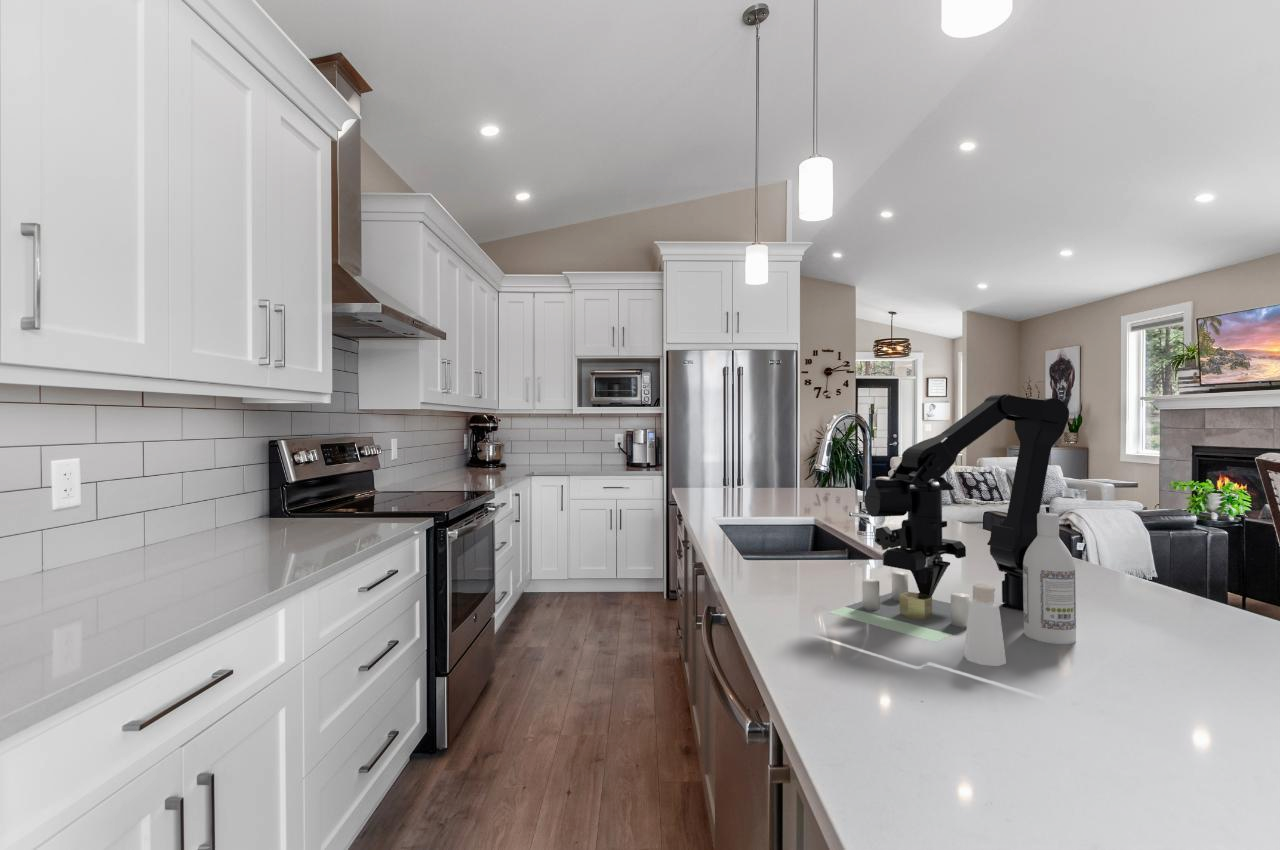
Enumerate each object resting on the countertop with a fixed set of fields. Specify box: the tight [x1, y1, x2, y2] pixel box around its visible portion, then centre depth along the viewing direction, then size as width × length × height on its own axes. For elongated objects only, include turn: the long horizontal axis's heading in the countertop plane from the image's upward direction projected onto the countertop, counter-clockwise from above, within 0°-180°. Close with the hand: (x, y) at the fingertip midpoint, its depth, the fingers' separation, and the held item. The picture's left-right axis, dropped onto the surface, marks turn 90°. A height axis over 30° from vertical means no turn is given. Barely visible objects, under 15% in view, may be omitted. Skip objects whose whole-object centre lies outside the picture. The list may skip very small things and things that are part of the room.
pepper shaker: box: [963, 583, 1007, 667], centre depth 89 cm, size 5×5×11 cm
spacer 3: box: [950, 592, 972, 628], centre depth 104 cm, size 3×3×5 cm
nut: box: [900, 591, 933, 620], centre depth 110 cm, size 5×5×4 cm
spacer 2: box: [891, 570, 909, 601], centre depth 120 cm, size 3×3×5 cm
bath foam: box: [1023, 512, 1077, 645], centre depth 98 cm, size 7×7×20 cm
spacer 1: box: [861, 578, 881, 610], centre depth 114 cm, size 3×3×5 cm
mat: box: [827, 592, 967, 643], centre depth 111 cm, size 20×23×1 cm
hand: (925, 600), depth 112 cm, fingers closed
